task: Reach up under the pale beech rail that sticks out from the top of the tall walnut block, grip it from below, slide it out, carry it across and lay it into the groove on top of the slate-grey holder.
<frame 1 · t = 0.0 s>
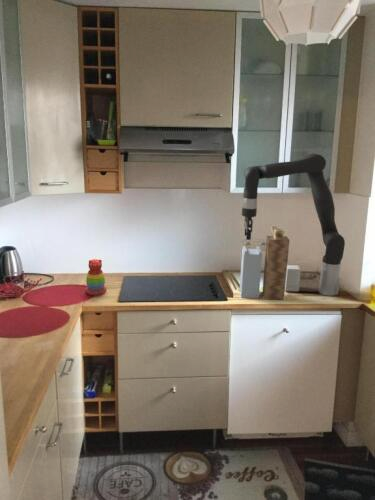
hand: (247, 237, 226), 29 cm above the worktop, tool pointing down, fingers open, 8 cm apart
walnut block: (272, 297, 225), on the worktop
holder: (248, 294, 228), on the worktop
supplement box: (290, 289, 237), on the worktop
stacking bear: (96, 292, 226), on the worktop
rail: (276, 235, 220), point 32 cm above the worktop, touching walnut block
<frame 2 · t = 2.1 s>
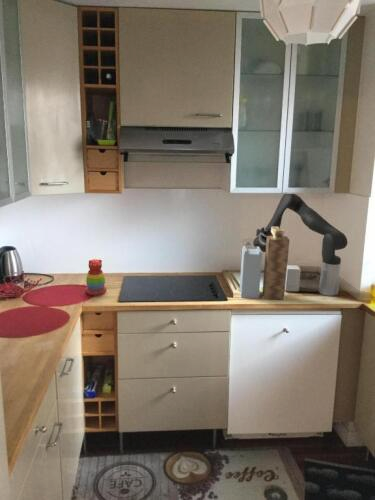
hand: (271, 229, 234), 32 cm above the worktop, tool pointing upward, fingers open, 8 cm apart
nothing on the worktop moved.
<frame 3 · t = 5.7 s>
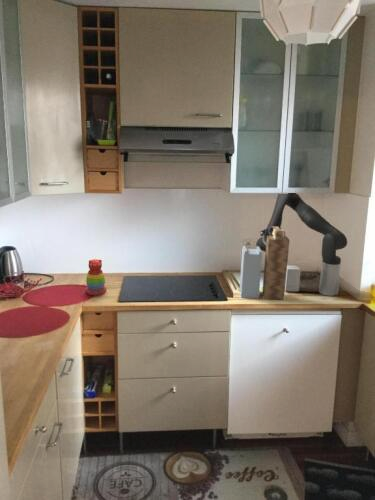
hand: (276, 228, 221), 35 cm above the worktop, tool pointing upward, fingers closed on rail, 3 cm apart
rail: (276, 235, 220), point 32 cm above the worktop, touching gripper
everything else where it was.
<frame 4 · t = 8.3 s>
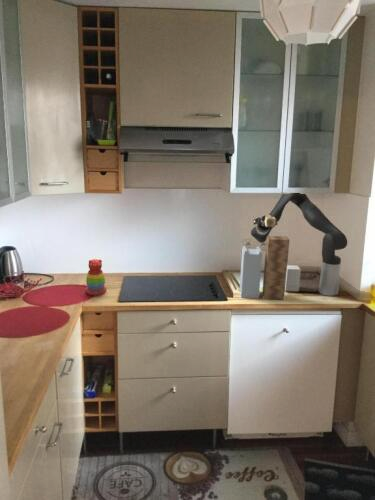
hand: (268, 217, 230), 39 cm above the worktop, tool pointing upward, fingers closed on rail, 3 cm apart
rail: (268, 223, 228), point 36 cm above the worktop, touching gripper
everything else where it was.
when the fingers open (29 cm above the worktop, at t = 10.9 s): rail drops 2 cm, resting on holder.
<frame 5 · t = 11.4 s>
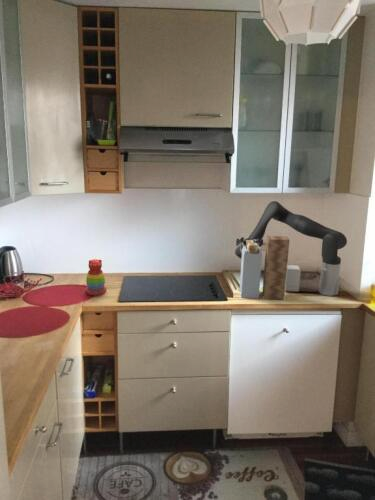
hand: (251, 239, 226), 28 cm above the worktop, tool pointing upward, fingers open, 8 cm apart
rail: (250, 249, 225), point 23 cm above the worktop, touching holder
everything else where it was.
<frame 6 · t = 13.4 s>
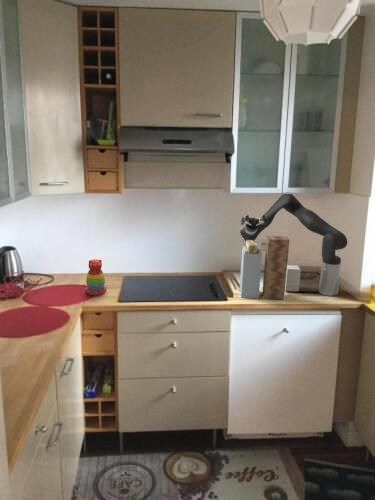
hand: (255, 216, 235), 38 cm above the worktop, tool pointing upward, fingers open, 8 cm apart
nothing on the worktop moved.
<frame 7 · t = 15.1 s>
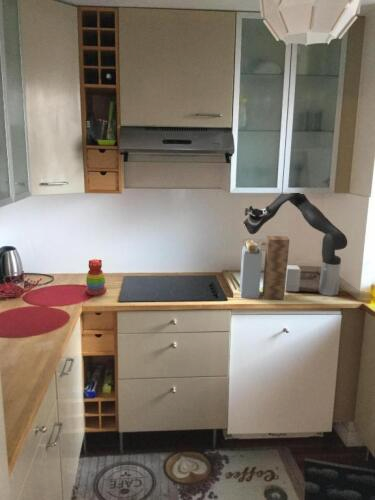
hand: (259, 207, 234), 43 cm above the worktop, tool pointing upward, fingers open, 8 cm apart
nothing on the worktop moved.
at the end: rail inside the target area on the holder (1.7 cm from its centre), point 23.5 cm above the holder's base; the gripper is holding nothing; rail touching holder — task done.
